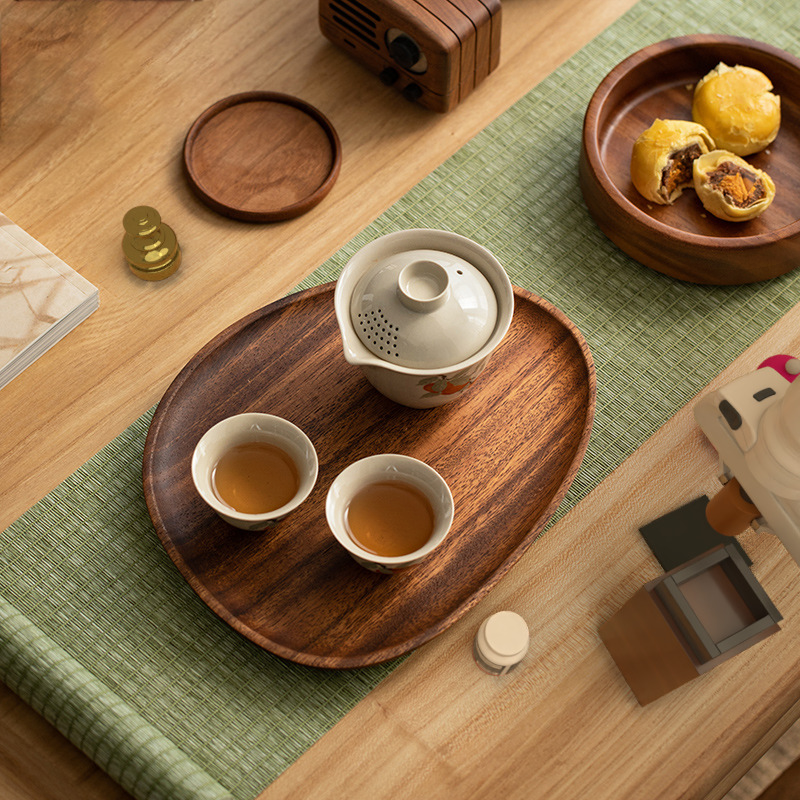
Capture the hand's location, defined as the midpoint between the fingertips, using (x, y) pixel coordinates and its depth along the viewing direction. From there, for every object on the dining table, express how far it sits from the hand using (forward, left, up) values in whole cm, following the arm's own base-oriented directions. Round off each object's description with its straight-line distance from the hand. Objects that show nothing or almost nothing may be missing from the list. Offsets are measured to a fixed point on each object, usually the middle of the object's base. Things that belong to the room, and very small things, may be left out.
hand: (741, 502), depth 98 cm
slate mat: (0, 0, -16) cm, 16 cm away
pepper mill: (-13, -10, -16) cm, 23 cm away
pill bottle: (+28, 0, -16) cm, 32 cm away
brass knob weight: (+44, -68, -16) cm, 82 cm away
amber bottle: (0, 0, -4) cm, 4 cm away
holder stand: (+11, +8, -16) cm, 21 cm away
